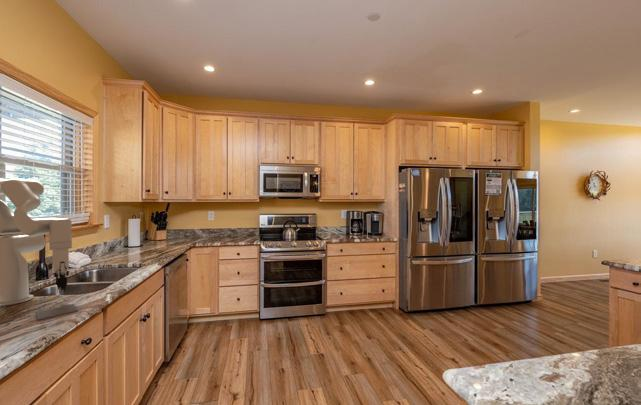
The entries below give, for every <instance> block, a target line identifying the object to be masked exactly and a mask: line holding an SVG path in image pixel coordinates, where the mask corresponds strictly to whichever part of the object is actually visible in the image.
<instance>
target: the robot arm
mask: <svg viewBox="0 0 641 405" xmlns="http://www.w3.org/2000/svg"><path fill="white" fill-rule="evenodd" d="M44 192H45V188H44V185H43V184H42V183H41V182H40V181H39V180H36V179H28V178H26V179H25V178H10V179H7V178H6V179H5V178H0V197H6V198H7V199H8V200H9V201H10V202H11V203H12V205H13V206H14V207H15V209H14V211H13V212H12V210H11V208H10V206H9V205H8V204H7V203H6V202H5V201H3V200H2V199H0V307H3V306H4V307H6V306H12V305H17V304H20V303H24V302H27V301H28V302H29V301H30V300H32V299H33V298H34V295H33V294H30V292H29V289H30V288H29V287H30V286H29V266H28V261H27V259H26V258H25V257H24V256H23V254H28V253H29V254H30V253H35V252H40V251H41V250H43V249H44V248H45V246H46V238H45V236H44V235H49V236H48V237H49V238H48V241H49V242H48V243H49V244H48V245H49V249H48V250H49V251H52V253H51V254H52V256H51V261H52V262H51V270H52V272H53V273H55V272H56V271H58V278H56V277H55V285H56V288H58V287H64V286H66V287H67V286H68V277H67V276H66V271H69V262H70V258H69V257H70V256H69V255H70V253H69V252H70V251H69V250H71V249H72V248H73V241H72V240H73V239H72V238H73V236H72V230H73V228H72V220H71V219H70V218H64V217H63V218H60V217H59V218H58V217H44V218H43V217H42V218H41V217H40V218H38V217H37V218H35V217H34V216H33V215H31V214H28V213H30V212H32V211H34V210H37V209H38V207H40V206H41V203H42V202H41V199H40V198H39V197H40V196H42V195H43V193H44ZM2 235H3V236H2ZM59 270H61V271H59Z"/></svg>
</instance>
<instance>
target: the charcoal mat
mask: <svg viewBox="0 0 641 405" xmlns="http://www.w3.org/2000/svg"><path fill="white" fill-rule="evenodd" d="M76 312H79V311H78V308H77V306H76V305H75V304H74V303H70V304H67V305H66V304H65V305H62V306H61V305H60V306H57V307H52V308H48V309H44V310H43V309H42V310H39V311H35V316H36V321H37V322H38V321H42V320H45V319H50V318H55V317H60V316H63V315H68V314H71V313H76Z"/></svg>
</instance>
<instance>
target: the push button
mask: <svg viewBox="0 0 641 405" xmlns="http://www.w3.org/2000/svg"><path fill="white" fill-rule="evenodd" d="M59 271H61V270H59ZM69 273H70V270H67V271H66V277H67V276H69ZM52 275H53V278H55V279H56V278H58V271H56V272H53V274H52ZM66 291H67V286H64V287H57V288H56V292H57V293H58V292H59V294H61V295H62V294H65V293H66Z"/></svg>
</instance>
